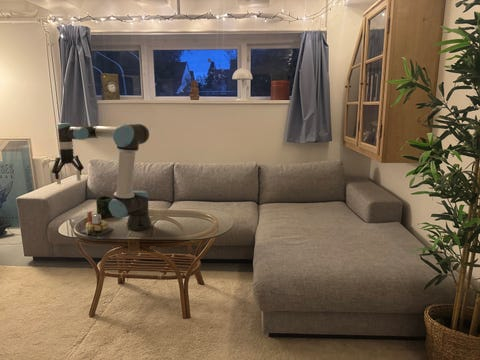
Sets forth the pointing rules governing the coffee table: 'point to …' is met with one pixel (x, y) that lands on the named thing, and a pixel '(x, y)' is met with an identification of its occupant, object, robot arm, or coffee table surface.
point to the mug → (103, 205)
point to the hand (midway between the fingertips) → (69, 182)
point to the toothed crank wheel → (95, 227)
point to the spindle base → (96, 221)
